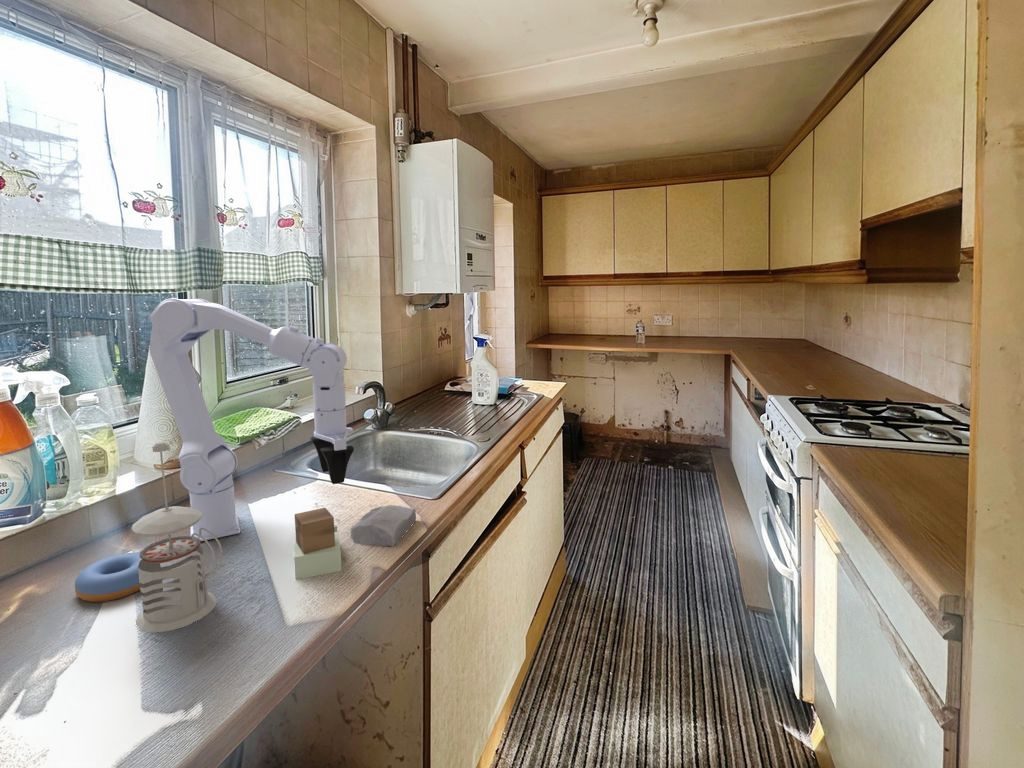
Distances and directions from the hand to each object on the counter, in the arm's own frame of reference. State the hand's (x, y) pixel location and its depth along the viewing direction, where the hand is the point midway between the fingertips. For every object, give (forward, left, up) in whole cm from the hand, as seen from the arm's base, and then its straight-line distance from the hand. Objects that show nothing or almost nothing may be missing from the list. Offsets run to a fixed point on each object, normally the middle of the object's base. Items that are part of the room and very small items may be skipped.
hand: (332, 476), depth 97 cm
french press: (+16, -25, -11) cm, 32 cm away
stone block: (+6, +8, -11) cm, 15 cm away
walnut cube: (+13, -6, -7) cm, 16 cm away
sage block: (+13, -6, -11) cm, 18 cm away
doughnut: (+4, -34, -11) cm, 35 cm away
